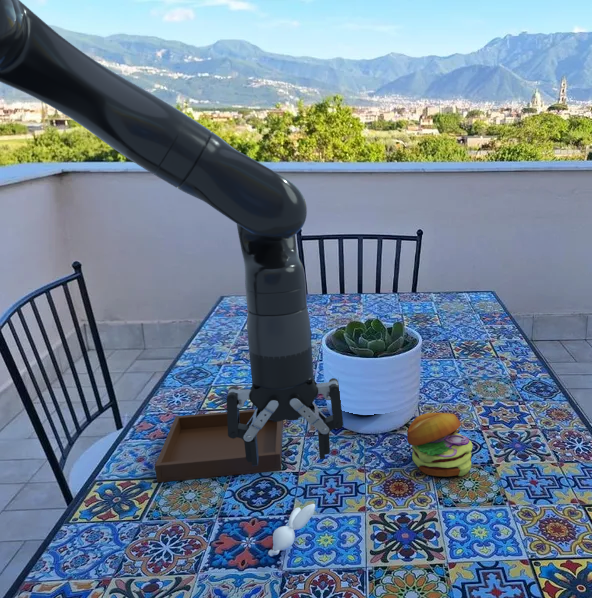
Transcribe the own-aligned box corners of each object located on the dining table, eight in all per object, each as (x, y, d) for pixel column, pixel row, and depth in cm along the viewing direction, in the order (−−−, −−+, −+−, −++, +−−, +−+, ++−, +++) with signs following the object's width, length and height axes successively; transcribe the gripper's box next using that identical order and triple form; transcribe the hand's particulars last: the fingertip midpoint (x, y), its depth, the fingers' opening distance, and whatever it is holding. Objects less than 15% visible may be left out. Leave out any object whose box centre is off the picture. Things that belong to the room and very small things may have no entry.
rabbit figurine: (255, 548, 76) (292, 498, 80) (276, 566, 76) (312, 516, 81) (269, 550, 71) (307, 497, 75) (291, 570, 71) (328, 516, 76)
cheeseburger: (450, 491, 87) (438, 430, 86) (400, 479, 94) (388, 423, 93) (487, 462, 94) (476, 406, 93) (438, 453, 101) (427, 401, 100)
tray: (157, 482, 90) (154, 465, 89) (177, 430, 106) (175, 416, 105) (281, 470, 93) (279, 453, 92) (283, 421, 109) (282, 407, 108)
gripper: (215, 358, 64) (229, 482, 68) (341, 349, 66) (346, 470, 70) (223, 336, 71) (235, 449, 76) (336, 328, 73) (341, 439, 78)
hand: (289, 459), depth 73 cm, fingers open, 8 cm apart
